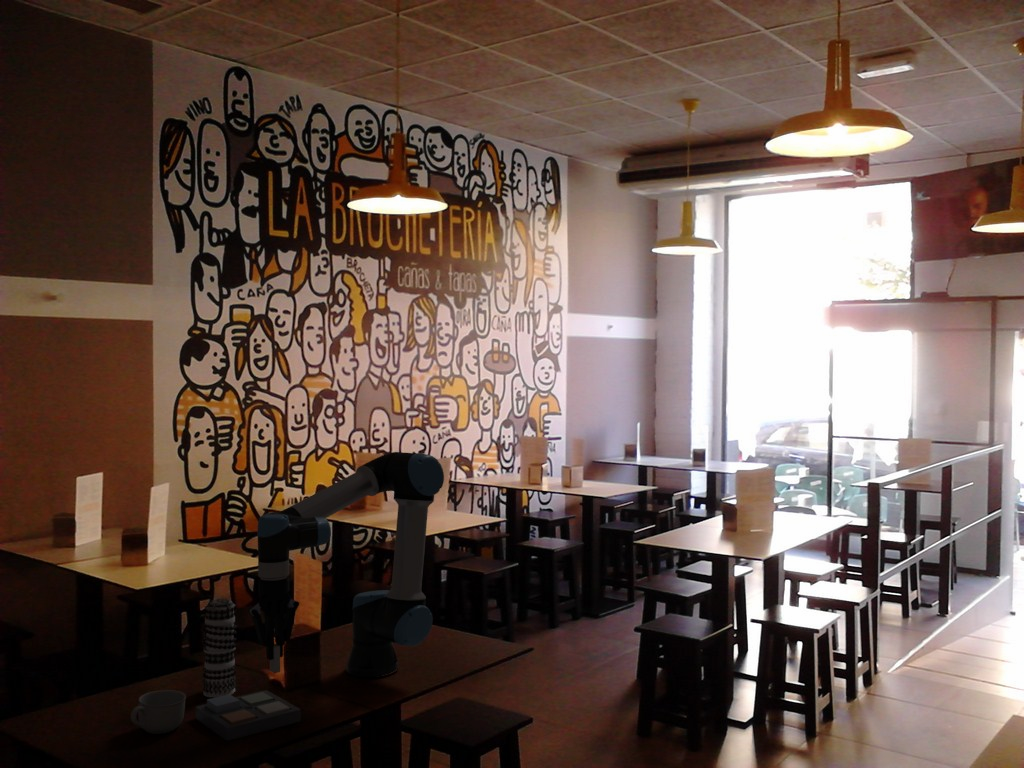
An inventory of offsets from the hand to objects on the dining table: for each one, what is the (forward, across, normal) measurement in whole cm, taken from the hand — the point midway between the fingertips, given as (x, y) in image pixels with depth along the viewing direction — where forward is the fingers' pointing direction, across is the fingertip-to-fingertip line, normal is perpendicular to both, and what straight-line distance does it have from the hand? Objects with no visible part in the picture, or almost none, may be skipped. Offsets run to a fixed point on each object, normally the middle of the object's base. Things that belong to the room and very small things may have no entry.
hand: (275, 671), depth 221 cm
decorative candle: (+12, +2, -29) cm, 32 cm away
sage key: (+12, +1, -9) cm, 15 cm away
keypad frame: (+12, +5, -4) cm, 14 cm away
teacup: (+12, +25, -12) cm, 30 cm away
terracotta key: (+12, +10, 0) cm, 15 cm away
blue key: (+10, +10, -9) cm, 17 cm away
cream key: (+12, +1, 0) cm, 12 cm away
